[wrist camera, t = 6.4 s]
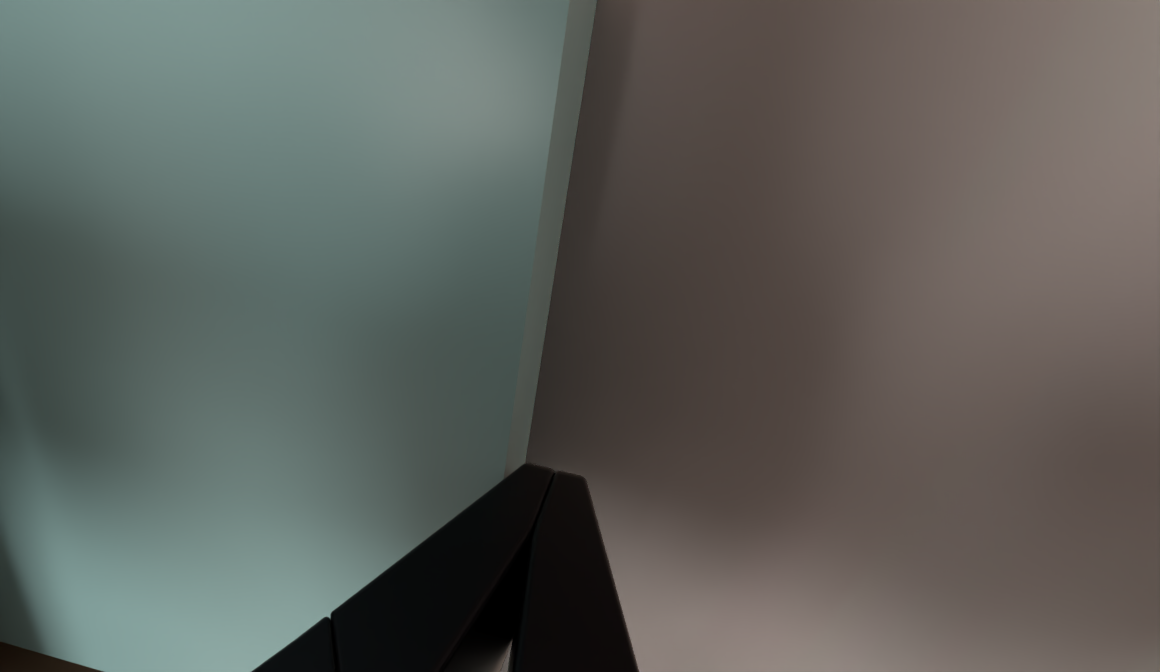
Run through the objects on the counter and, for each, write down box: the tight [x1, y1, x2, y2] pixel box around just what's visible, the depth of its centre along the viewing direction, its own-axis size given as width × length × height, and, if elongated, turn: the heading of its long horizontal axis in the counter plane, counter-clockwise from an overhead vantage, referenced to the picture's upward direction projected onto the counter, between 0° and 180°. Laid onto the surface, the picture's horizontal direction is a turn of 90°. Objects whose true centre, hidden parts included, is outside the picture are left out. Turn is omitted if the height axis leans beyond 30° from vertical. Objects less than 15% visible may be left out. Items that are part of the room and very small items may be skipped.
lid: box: [0, 0, 597, 672], centre depth 10 cm, size 12×12×2 cm
